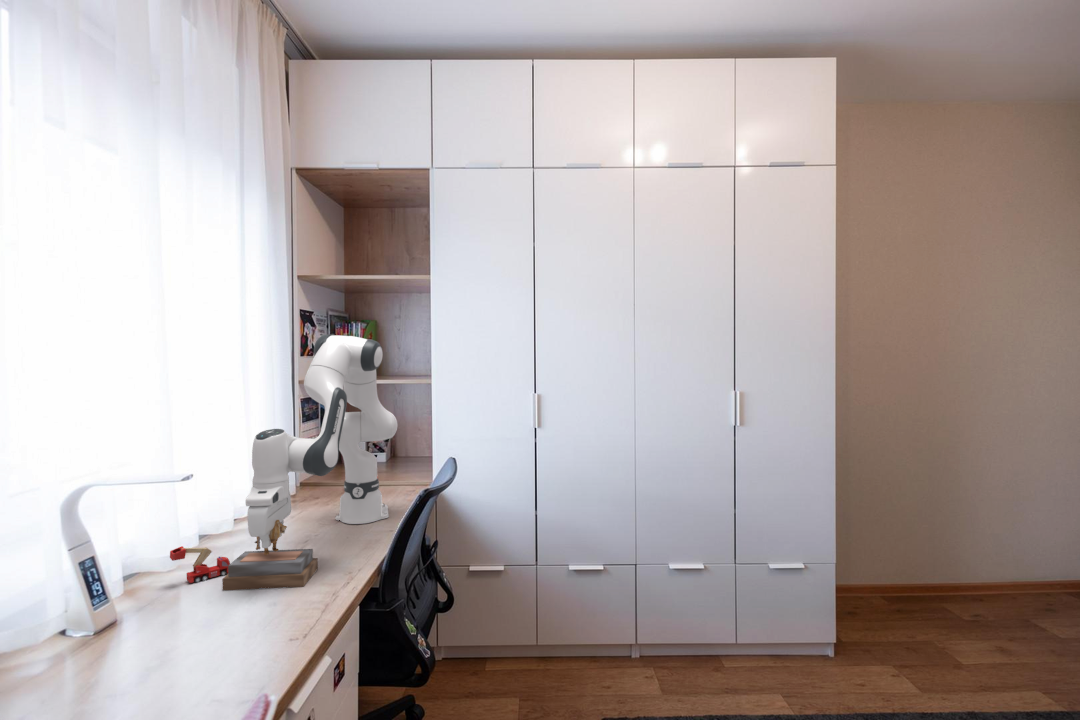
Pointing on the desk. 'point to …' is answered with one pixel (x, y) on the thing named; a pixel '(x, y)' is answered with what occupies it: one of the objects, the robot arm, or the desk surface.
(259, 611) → the desk surface
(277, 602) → the desk surface
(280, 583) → the plinth
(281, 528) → the lion figurine
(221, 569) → the toy fire truck
